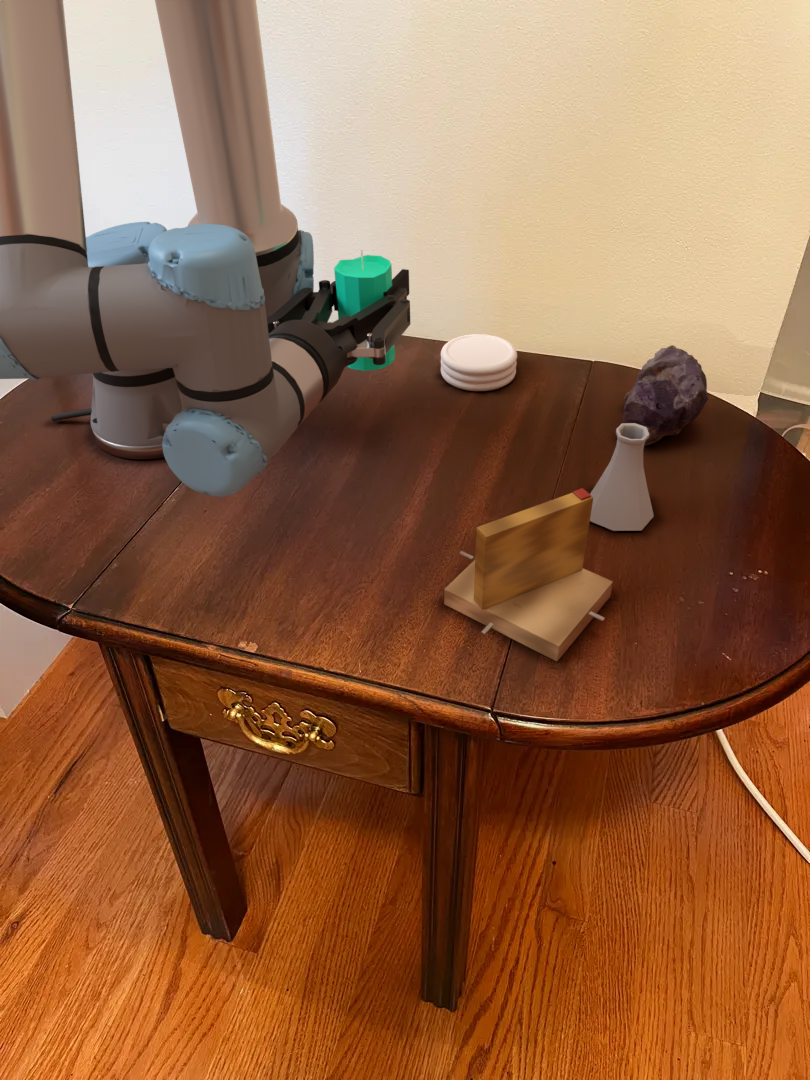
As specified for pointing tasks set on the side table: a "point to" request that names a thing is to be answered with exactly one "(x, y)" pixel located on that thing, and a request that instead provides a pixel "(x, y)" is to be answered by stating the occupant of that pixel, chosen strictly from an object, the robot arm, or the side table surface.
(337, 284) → the candle
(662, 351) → the rock
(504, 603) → the plate
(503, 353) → the coaster
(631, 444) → the flask
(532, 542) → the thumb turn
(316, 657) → the side table surface
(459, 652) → the side table surface
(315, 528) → the side table surface
